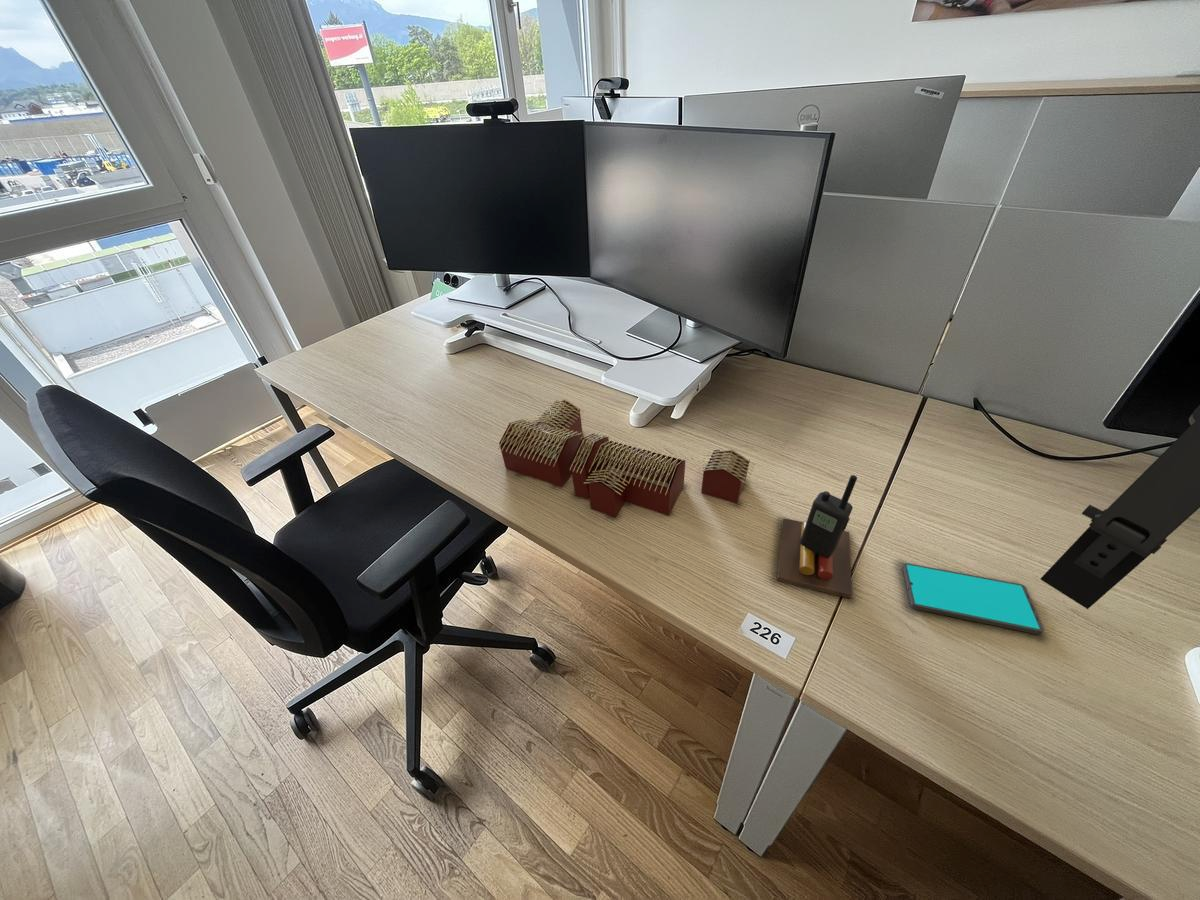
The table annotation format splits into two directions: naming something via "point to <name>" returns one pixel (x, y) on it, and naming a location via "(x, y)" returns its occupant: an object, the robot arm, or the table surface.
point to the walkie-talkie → (827, 521)
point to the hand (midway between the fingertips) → (1114, 547)
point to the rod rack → (813, 563)
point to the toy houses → (611, 464)
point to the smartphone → (971, 598)
